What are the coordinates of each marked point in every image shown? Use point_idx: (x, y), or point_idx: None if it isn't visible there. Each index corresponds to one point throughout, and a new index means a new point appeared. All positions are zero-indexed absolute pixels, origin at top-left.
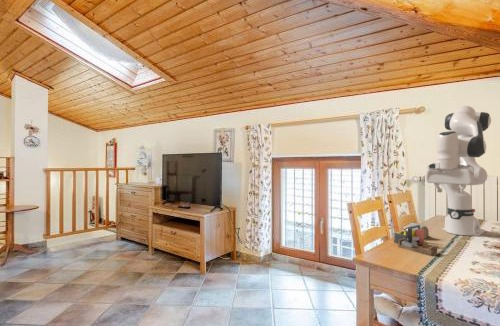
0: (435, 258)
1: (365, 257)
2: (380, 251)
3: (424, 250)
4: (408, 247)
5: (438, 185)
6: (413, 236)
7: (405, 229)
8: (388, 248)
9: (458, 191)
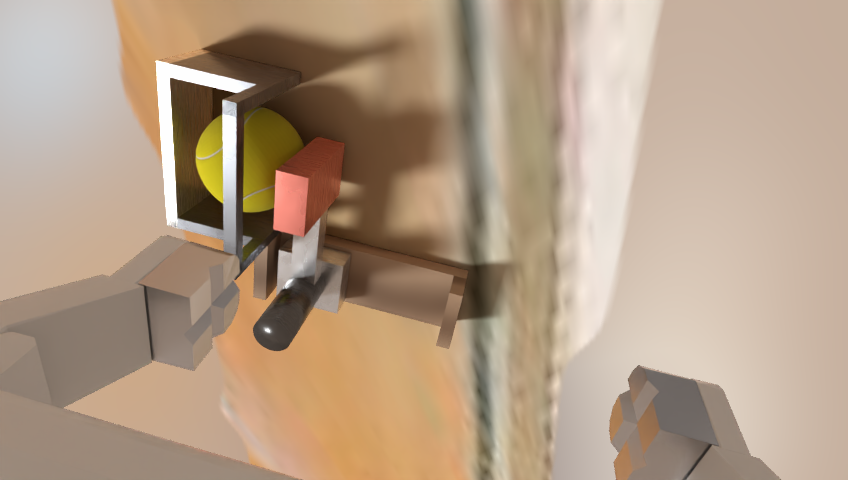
0: (482, 346)
1: None
2: (264, 383)
3: (411, 303)
4: None
5: (26, 323)
6: None
7: None
8: None
9: (623, 467)
